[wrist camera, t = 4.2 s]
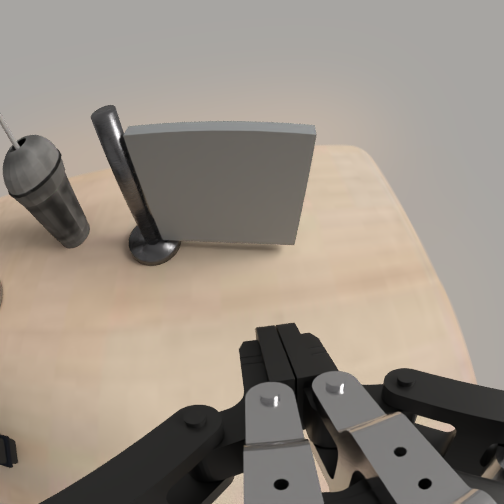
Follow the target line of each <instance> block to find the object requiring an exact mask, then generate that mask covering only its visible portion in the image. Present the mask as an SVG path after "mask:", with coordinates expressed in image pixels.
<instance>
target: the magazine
mask: <svg viewBox="0 0 504 504" xmlns="http://www.w3.org/2000/svg"><path fill="white" fill-rule="evenodd" d="M16 463H18V460H17V453H16V445H15V441H14V440H13V439H10V438H9V437H8V436H4V435H0V465H3V466H6V467H9V468H12V467H13V465H12V464H16Z"/></svg>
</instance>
